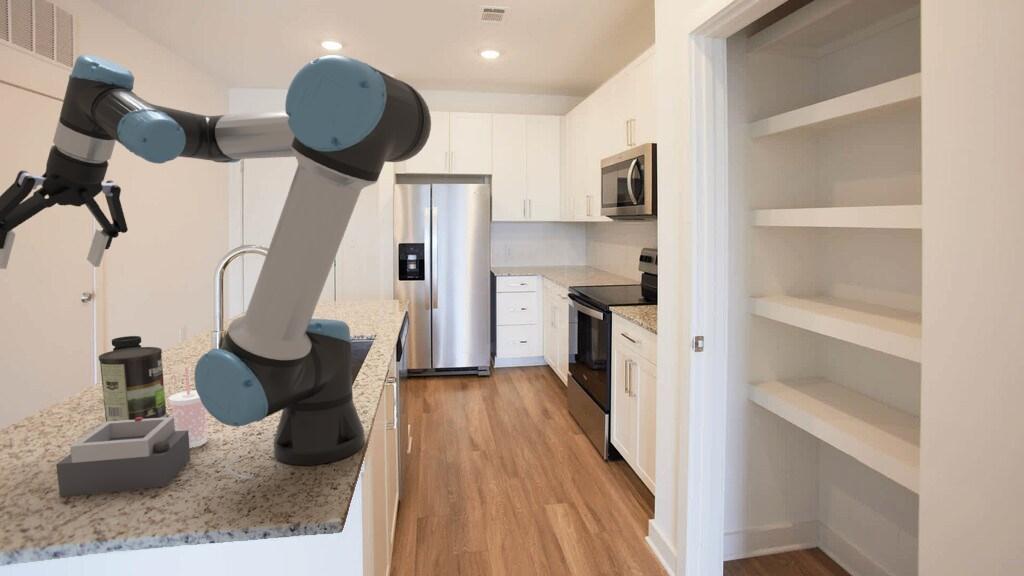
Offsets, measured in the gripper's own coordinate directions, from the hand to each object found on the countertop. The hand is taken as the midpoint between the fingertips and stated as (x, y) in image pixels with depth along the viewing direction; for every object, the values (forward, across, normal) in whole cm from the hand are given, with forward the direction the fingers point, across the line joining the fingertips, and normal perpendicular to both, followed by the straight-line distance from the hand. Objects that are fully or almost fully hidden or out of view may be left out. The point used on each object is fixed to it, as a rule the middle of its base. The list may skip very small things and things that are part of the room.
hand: (49, 263), depth 93 cm
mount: (+17, +2, +36) cm, 40 cm away
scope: (+35, -22, +2) cm, 42 cm away
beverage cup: (+18, -11, +34) cm, 40 cm away
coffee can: (+28, -14, +15) cm, 35 cm away
